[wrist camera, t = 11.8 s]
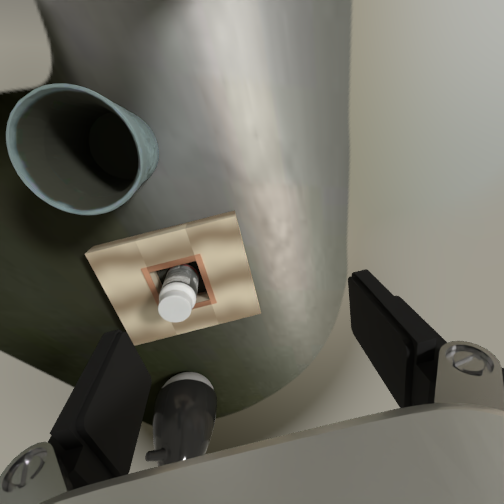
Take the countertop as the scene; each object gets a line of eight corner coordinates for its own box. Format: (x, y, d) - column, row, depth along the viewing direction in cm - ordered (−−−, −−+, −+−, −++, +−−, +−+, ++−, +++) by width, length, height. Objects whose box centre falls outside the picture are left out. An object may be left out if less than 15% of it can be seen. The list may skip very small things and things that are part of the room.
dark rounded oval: (185, 352, 47) (171, 445, 33) (228, 380, 51) (232, 474, 37) (146, 385, 49) (118, 486, 35) (191, 410, 53) (181, 509, 39)
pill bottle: (197, 291, 42) (192, 327, 35) (165, 288, 42) (153, 324, 34) (201, 264, 41) (197, 295, 33) (168, 260, 40) (156, 291, 32)
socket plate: (92, 246, 38) (84, 254, 35) (234, 210, 38) (235, 216, 35) (138, 334, 44) (134, 346, 42) (258, 303, 44) (261, 313, 42)
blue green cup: (77, 178, 34) (10, 202, 23) (77, 87, 30) (-3, 63, 19) (161, 196, 36) (136, 225, 25) (171, 112, 32) (147, 103, 21)
